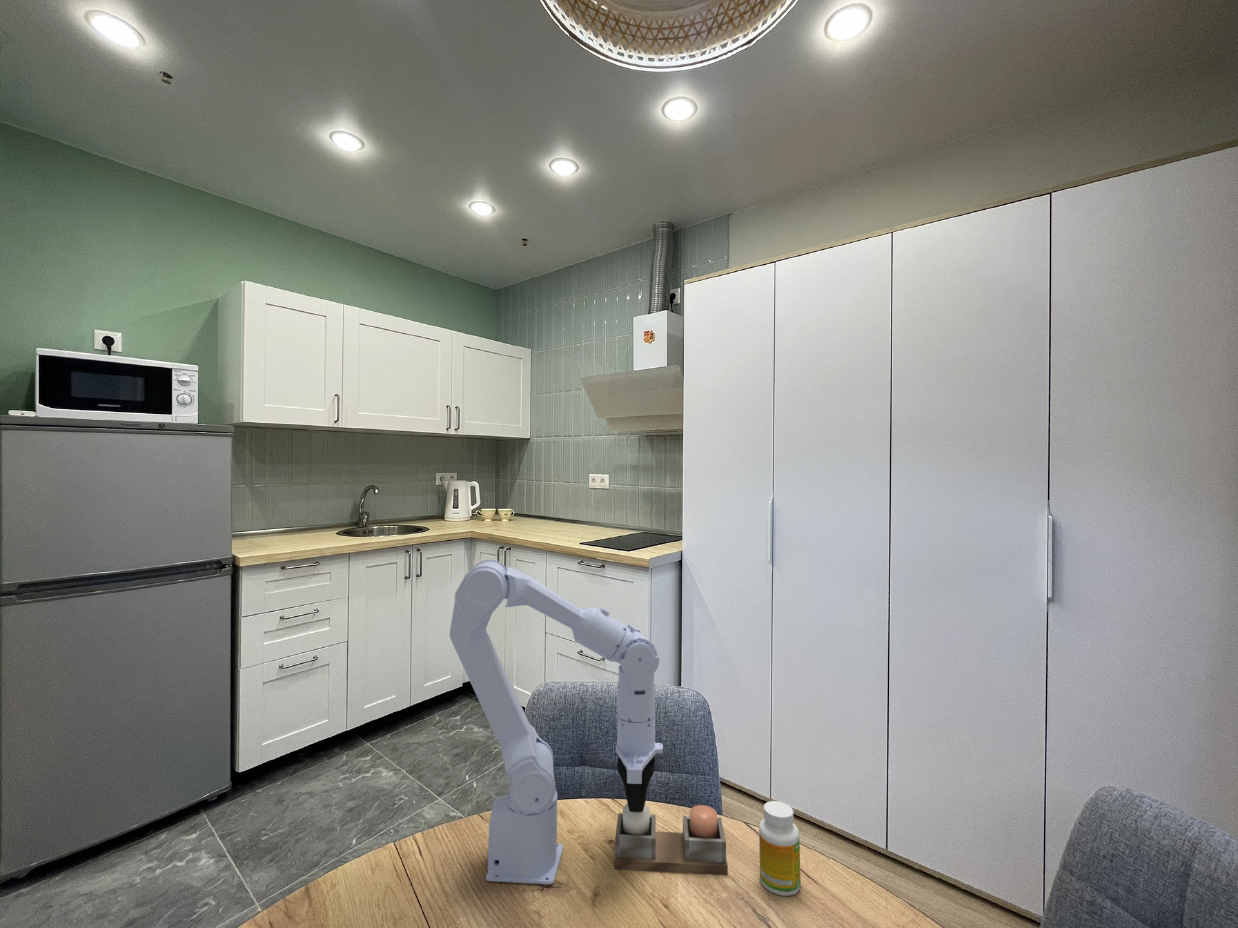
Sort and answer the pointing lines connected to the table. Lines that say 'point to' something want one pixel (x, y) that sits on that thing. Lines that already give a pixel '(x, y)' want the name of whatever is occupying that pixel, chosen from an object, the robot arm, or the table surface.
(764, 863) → the supplement bottle
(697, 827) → the tan rounded dome
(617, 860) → the panel
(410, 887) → the table surface
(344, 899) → the table surface
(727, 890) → the table surface
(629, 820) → the white plunger
